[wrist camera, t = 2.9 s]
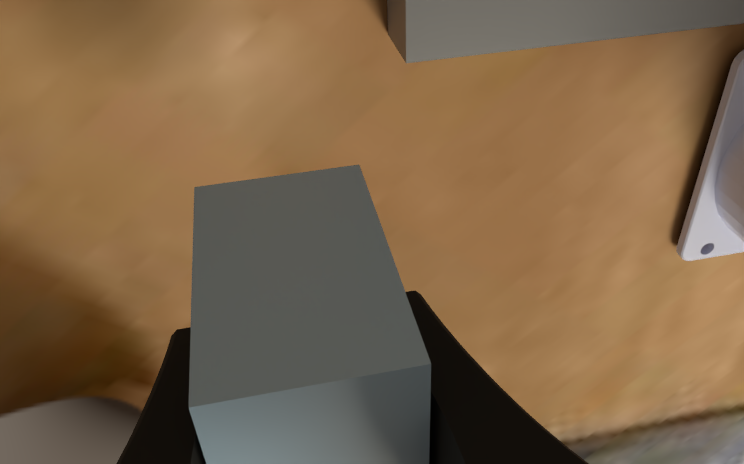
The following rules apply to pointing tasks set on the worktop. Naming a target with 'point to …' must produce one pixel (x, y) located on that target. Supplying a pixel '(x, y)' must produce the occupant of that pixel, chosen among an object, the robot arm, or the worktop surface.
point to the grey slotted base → (540, 23)
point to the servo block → (302, 327)
